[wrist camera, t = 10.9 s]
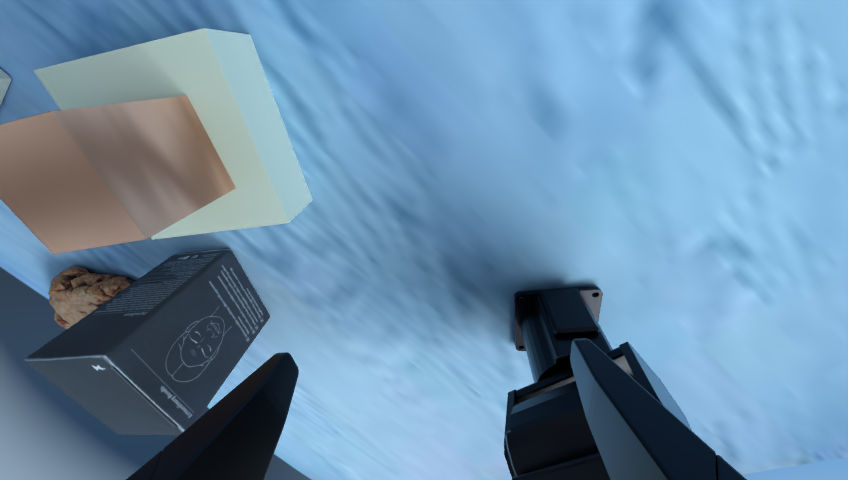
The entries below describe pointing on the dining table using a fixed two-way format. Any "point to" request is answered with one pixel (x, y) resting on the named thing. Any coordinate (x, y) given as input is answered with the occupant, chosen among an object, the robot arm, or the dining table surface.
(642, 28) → the dining table surface
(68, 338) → the box
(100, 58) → the sage base block
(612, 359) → the robot arm
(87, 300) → the cookie
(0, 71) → the skincare box
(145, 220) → the terracotta block
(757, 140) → the dining table surface
